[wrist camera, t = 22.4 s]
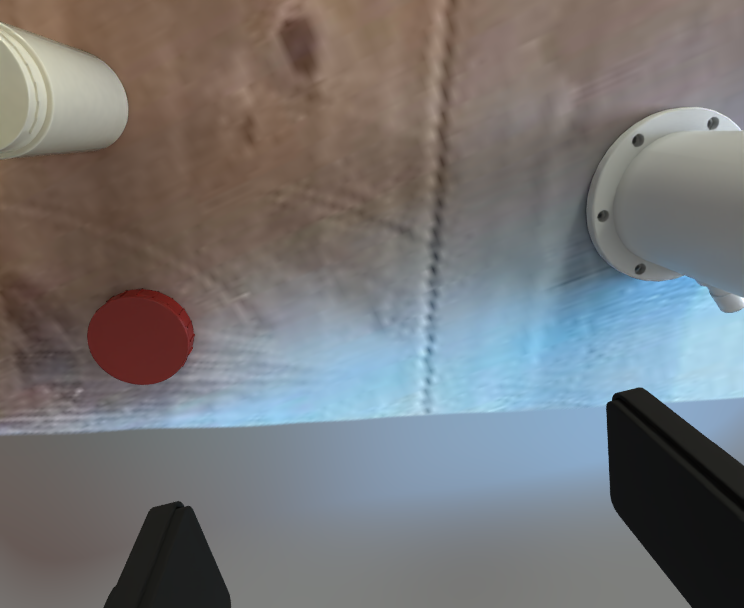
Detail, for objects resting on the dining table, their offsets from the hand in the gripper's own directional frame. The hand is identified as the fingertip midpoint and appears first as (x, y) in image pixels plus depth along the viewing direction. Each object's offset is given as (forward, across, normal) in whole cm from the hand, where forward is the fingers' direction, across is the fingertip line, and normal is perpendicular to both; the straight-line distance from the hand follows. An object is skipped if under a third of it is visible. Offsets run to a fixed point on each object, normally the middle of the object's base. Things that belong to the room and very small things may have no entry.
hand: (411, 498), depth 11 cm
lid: (+25, +16, +3) cm, 30 cm away
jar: (+26, +14, -13) cm, 32 cm away
